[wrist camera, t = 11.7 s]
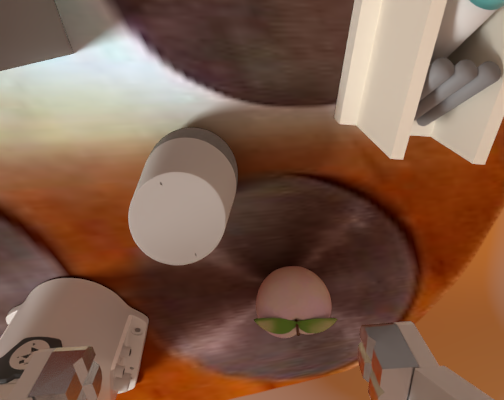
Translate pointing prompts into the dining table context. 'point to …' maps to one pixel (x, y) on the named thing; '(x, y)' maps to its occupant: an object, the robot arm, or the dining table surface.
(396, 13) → the tilted socket
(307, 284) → the decorative fruit
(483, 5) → the marker
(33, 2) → the perfume bottle
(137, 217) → the smart speaker
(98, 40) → the dining table surface
